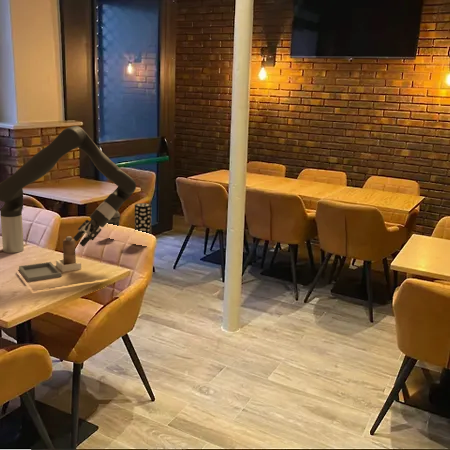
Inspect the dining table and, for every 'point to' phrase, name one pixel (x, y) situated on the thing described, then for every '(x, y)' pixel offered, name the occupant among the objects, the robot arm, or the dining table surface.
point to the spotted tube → (143, 217)
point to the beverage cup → (115, 219)
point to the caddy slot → (67, 267)
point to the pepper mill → (69, 250)
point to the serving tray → (40, 271)
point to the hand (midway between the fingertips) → (78, 242)
